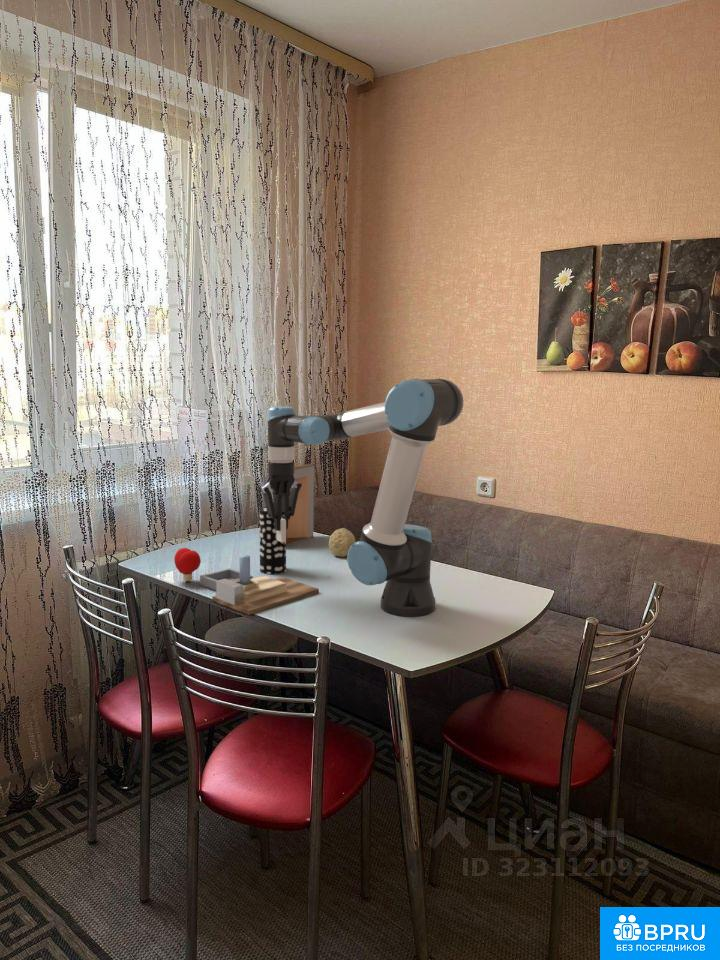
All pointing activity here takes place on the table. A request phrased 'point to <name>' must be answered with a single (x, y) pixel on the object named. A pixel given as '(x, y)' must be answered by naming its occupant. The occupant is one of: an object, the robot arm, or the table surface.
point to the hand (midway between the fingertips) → (281, 540)
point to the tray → (219, 578)
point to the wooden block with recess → (262, 588)
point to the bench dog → (229, 591)
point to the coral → (341, 542)
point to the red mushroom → (187, 562)
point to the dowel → (244, 569)
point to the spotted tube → (270, 546)
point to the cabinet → (302, 506)
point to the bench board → (273, 597)
